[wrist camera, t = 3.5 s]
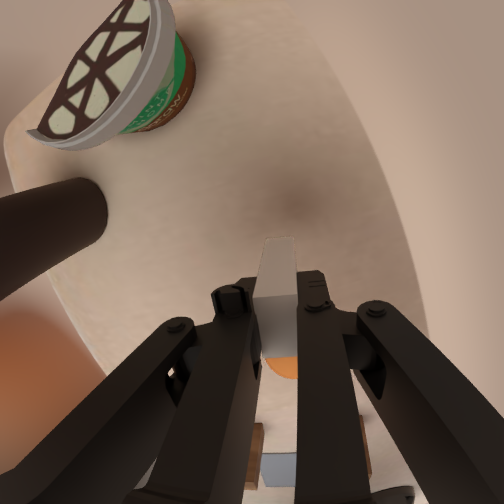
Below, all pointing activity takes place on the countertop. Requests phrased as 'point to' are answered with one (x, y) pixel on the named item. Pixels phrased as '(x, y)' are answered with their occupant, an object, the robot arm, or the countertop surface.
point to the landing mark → (278, 469)
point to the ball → (284, 366)
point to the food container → (121, 79)
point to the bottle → (46, 228)
